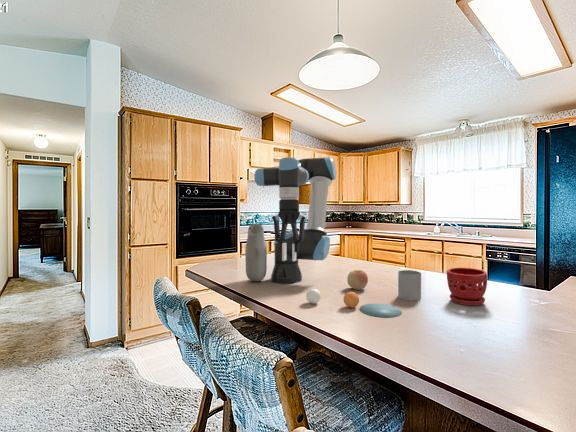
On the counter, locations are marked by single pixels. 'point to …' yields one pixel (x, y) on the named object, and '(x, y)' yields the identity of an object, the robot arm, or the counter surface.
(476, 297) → the plant pot
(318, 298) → the cue ball
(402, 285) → the cup
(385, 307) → the teal mark
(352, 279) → the apple
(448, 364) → the counter surface
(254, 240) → the grey bottle
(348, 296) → the orange ball
